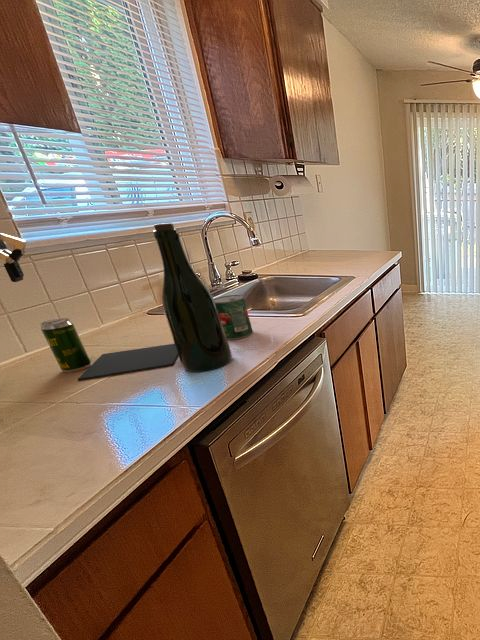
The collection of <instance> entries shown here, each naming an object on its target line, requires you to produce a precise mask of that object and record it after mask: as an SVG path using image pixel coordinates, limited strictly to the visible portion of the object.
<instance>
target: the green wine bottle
mask: <svg viewBox="0 0 480 640" xmlns="http://www.w3.org/2000/svg"><path fill="white" fill-rule="evenodd" d="M153 227H154V230H153V237H154V239H155V241H156V243H157V244H156V245H157V247H158V250H159V253H160V257H161V261H162V269H163V281H162V282H163V283H162V287H161V288H162V289H161V303H162V308H163V313H164V317H165V319H166V322H167V325H168V328H169V332H170V334H171V337H172V341H173V344H175V347H176V350H177V353H178V359H179V361H180V364H181V366H182V369H184V370H186V371H189V372H196V373H197V372H206V371H212V370H214V369H218V368H221V367H224V366H225V365H227V364H228V363H230V362H231V360H232V359H233V354H232V351H231V347H230V344H229V340H227V337H226V334H225V331H224V328H223V325H222V322H221V319H220V316H219V313H218V310H217V307H216V304H215V302H214V299H215V298H214V296H213V295H212V293H211V291H210V289H209V288H208V287H207V285H206V284H205V283H204V281H202V279H201V278H200V277H199V275H198V274H197V273H196V271H195V270H194V268H193V267H192V265H191V263H190V261H189V258H188V256H187V254H186V252H185V249H184V247H183V243H182V241H181V238H180V237H181V235H180V232H179V231H178V230H177V229H176V228H175V226H174V223H171V222H168V223H167V222H162V223H161V222H160V223H155V224H153Z"/></svg>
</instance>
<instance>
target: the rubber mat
mask: <svg viewBox="0 0 480 640" xmlns="http://www.w3.org/2000/svg"><path fill="white" fill-rule="evenodd" d="M178 358H179V356H178V353H177V350H176V347H175V344H174V343H170V344H169V343H168V344H161V345H155V346H149V347H148V346H147V347H141V348H135V349H126V350H120V351H115V352H114V351H113V352H108V353H102V354H101V355H100V356H99V357H98V358H97V359H96V360H95V361H94V362H93V363H91V365H90V367H88V368H86V370H84V372H83V373H82V374H81V375H80V376H79V377H78V378H77V381H78V382H80V381H85V380H92V379H98V378H99V379H100V378H104V377H110V376H116V375H117V376H118V375H122V374H129V373H135V372H141V371H147V370H154V369H159V368H167V367H173V366H174V364H175V363H176V360H177V359H178Z"/></svg>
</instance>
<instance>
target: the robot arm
mask: <svg viewBox="0 0 480 640" xmlns="http://www.w3.org/2000/svg"><path fill="white" fill-rule="evenodd" d="M7 243H9V244H12V245H13V246H14V247H13V250H12V251H10V250H8V245H7ZM26 245H27V241H26V240H25V239H22V238H19V237H16V236H12V235H9V234H6V233H2V232H0V260H2V261H4V262H5V263H3V267H4V269H5V271H6V273H7V275H8V277H9V280H10V281H11V282H12V283H18V282H21V281H23V280H24V276H25V274H24V271H23V269H22V268H21V266H20V263H19V261H20V259H21V258H22V257H23V255H24V254H25V253H26V251H25V250H26V247H27V246H26Z"/></svg>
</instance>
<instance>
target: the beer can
mask: <svg viewBox="0 0 480 640" xmlns="http://www.w3.org/2000/svg"><path fill="white" fill-rule="evenodd" d="M39 325H40V330H41V332H42V333H43V337H44V338H45V340H46V342H47V344H48V346H49V348H50V350H51V353H52V354H53V356H54V358H55V360H56V362H57V364H58V366H59V368H60V370H61V371H63V372H64V373H76V372H80V371H83V370H84V371H85V369H86V370H87V369H88V368H89V367H90V366H91V365H92V362H91V359H90V357H89V355H88V352H87V351H86V348H85V346H84V344H83V342H82V340H81V338H80V336H79V334H78V332H77V329H76V327H75V325H74V323H73V321H72V320H70V318H69V317H60V318H54V319H49V320H46V321H43V322H40V324H39Z"/></svg>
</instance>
